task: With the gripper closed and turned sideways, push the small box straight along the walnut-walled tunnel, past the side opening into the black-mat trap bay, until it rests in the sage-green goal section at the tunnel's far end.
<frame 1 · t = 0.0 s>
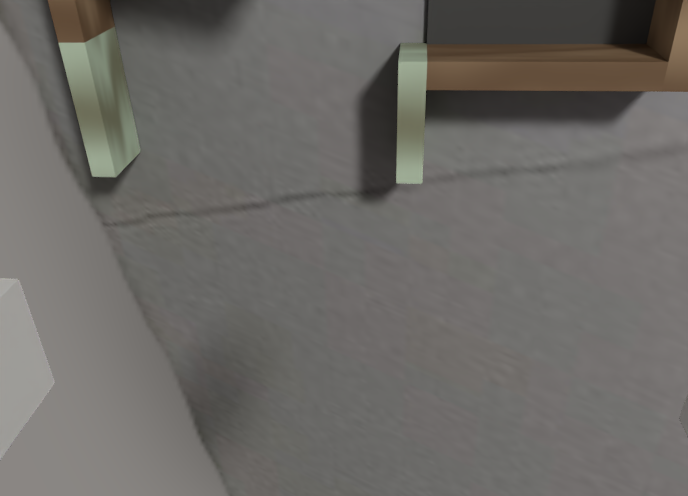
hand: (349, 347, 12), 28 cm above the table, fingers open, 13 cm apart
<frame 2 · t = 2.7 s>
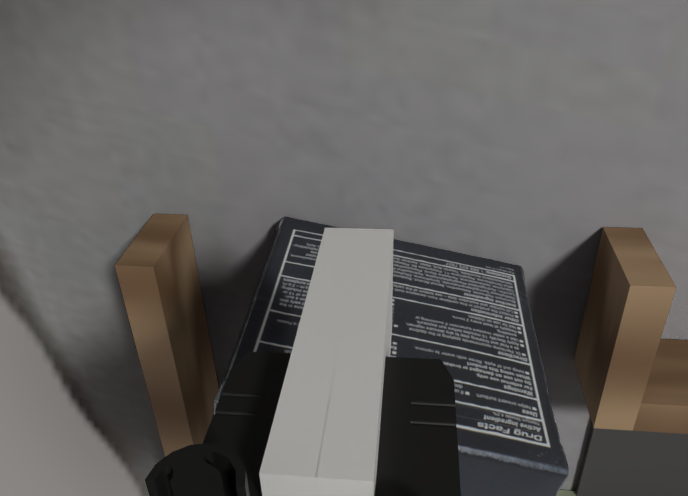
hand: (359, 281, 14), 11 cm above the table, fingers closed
tunnel: (385, 418, 32), on the table
small box: (387, 295, 28), on the table
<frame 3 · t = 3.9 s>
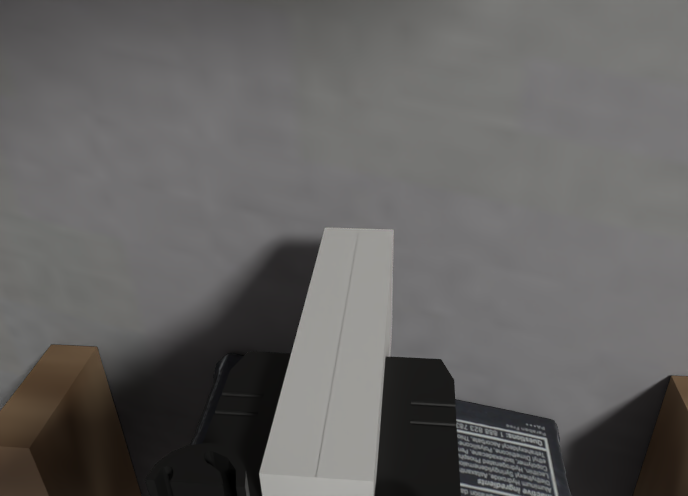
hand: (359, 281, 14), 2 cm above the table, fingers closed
small box: (371, 446, 21), on the table
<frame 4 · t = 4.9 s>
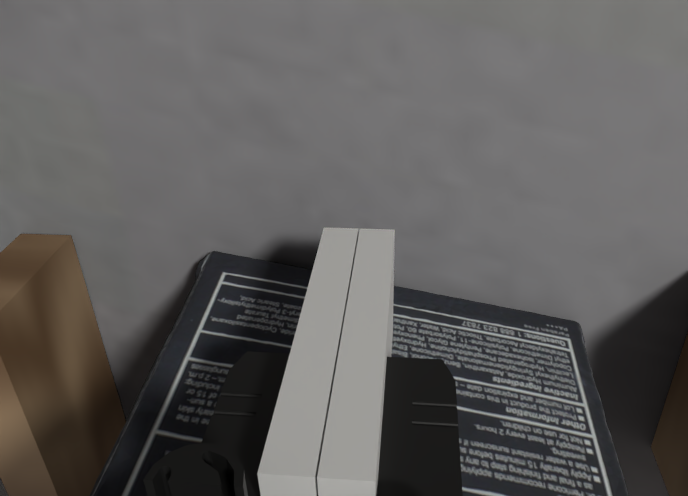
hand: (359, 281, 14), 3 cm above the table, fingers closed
small box: (374, 361, 19), on the table, touching gripper, hand
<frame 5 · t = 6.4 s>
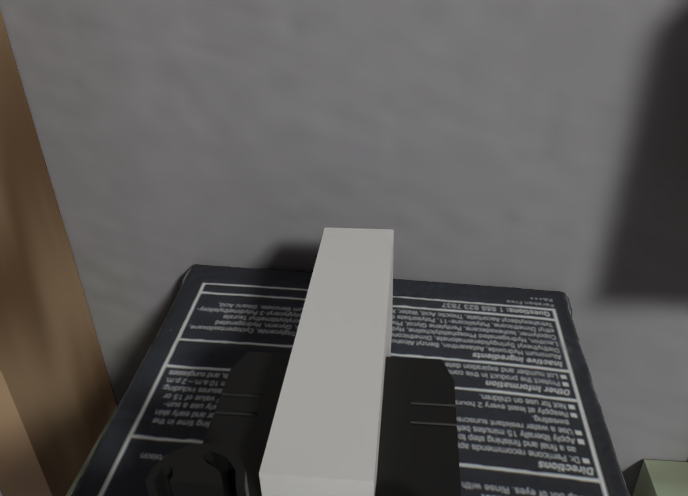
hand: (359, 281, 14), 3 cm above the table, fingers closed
tunnel: (371, 334, 18), on the table
small box: (370, 357, 19), on the table, touching gripper
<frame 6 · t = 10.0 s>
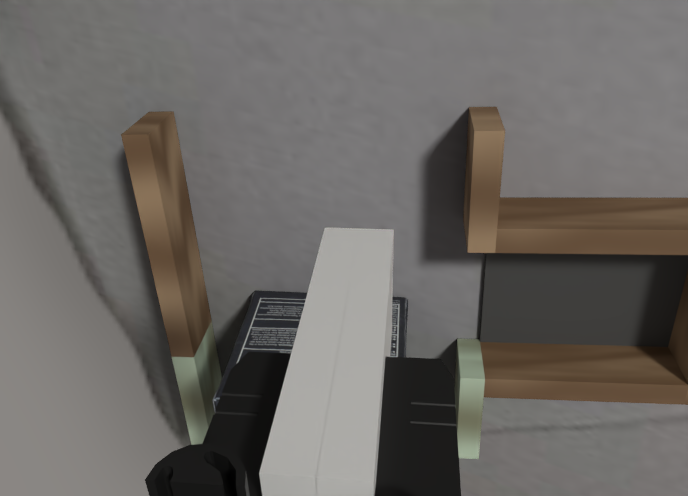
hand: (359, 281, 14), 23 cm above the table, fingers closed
tunnel: (329, 280, 42), on the table
small box: (331, 329, 44), on the table
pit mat: (580, 284, 40), resting in tunnel
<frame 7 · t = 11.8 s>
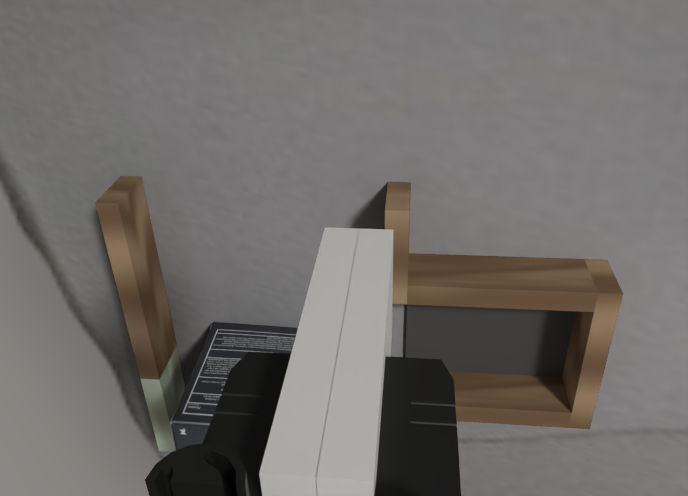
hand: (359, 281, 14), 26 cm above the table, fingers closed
tunnel: (276, 315, 49), on the table
small box: (279, 354, 51), on the table
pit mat: (487, 324, 47), resting in tunnel
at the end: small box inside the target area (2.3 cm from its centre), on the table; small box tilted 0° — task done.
